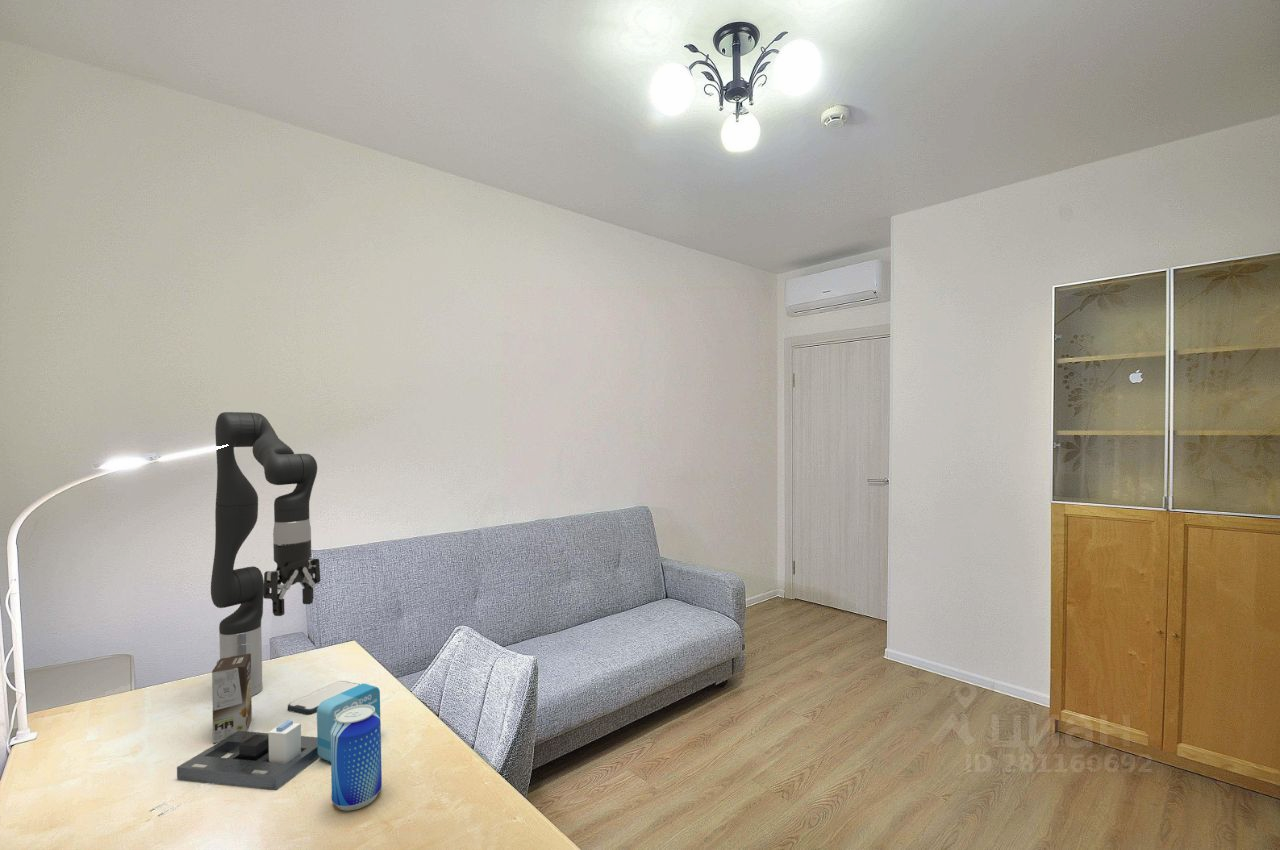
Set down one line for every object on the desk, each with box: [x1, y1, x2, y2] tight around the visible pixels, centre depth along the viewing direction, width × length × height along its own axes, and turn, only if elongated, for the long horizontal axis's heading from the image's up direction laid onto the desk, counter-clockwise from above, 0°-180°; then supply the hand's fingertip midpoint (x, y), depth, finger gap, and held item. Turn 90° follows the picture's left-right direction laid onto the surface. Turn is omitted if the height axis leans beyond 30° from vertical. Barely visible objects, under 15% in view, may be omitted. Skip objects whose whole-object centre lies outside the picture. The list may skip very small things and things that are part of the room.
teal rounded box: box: [316, 683, 381, 763], centre depth 124 cm, size 12×4×12 cm, turn 152°
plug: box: [267, 719, 302, 764], centre depth 118 cm, size 4×4×9 cm
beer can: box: [330, 705, 383, 812], centre depth 107 cm, size 8×8×16 cm
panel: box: [176, 730, 320, 791], centre depth 119 cm, size 23×14×5 cm, turn 80°
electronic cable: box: [148, 783, 215, 817], centre depth 108 cm, size 4×10×1 cm, turn 154°
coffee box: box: [211, 654, 253, 744], centre depth 133 cm, size 9×6×16 cm
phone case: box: [287, 680, 361, 716], centre depth 148 cm, size 9×2×16 cm
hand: (293, 609), depth 132 cm, fingers open, 8 cm apart
